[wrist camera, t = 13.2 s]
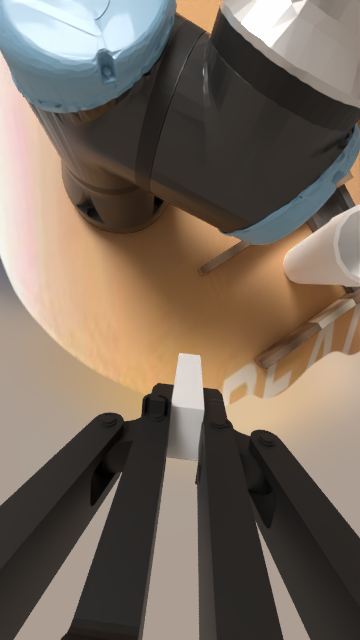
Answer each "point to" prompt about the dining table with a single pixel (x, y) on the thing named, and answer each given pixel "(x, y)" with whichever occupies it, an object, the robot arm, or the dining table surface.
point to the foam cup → (328, 253)
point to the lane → (330, 209)
